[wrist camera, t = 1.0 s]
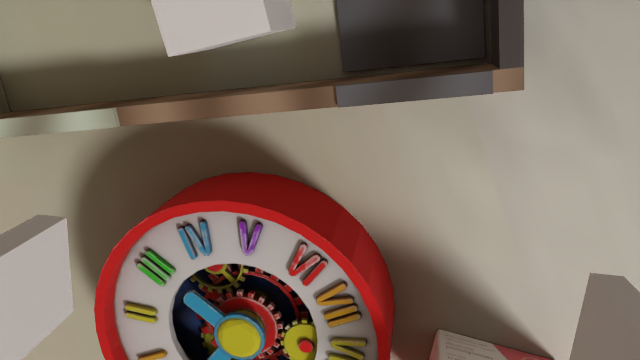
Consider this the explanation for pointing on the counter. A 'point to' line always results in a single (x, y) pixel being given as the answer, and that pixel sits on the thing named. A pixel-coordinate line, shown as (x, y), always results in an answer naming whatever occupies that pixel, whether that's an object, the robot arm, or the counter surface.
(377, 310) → the toy clock
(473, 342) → the ink cartridge box
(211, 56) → the counter surface
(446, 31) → the wooden tray
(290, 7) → the white cube
